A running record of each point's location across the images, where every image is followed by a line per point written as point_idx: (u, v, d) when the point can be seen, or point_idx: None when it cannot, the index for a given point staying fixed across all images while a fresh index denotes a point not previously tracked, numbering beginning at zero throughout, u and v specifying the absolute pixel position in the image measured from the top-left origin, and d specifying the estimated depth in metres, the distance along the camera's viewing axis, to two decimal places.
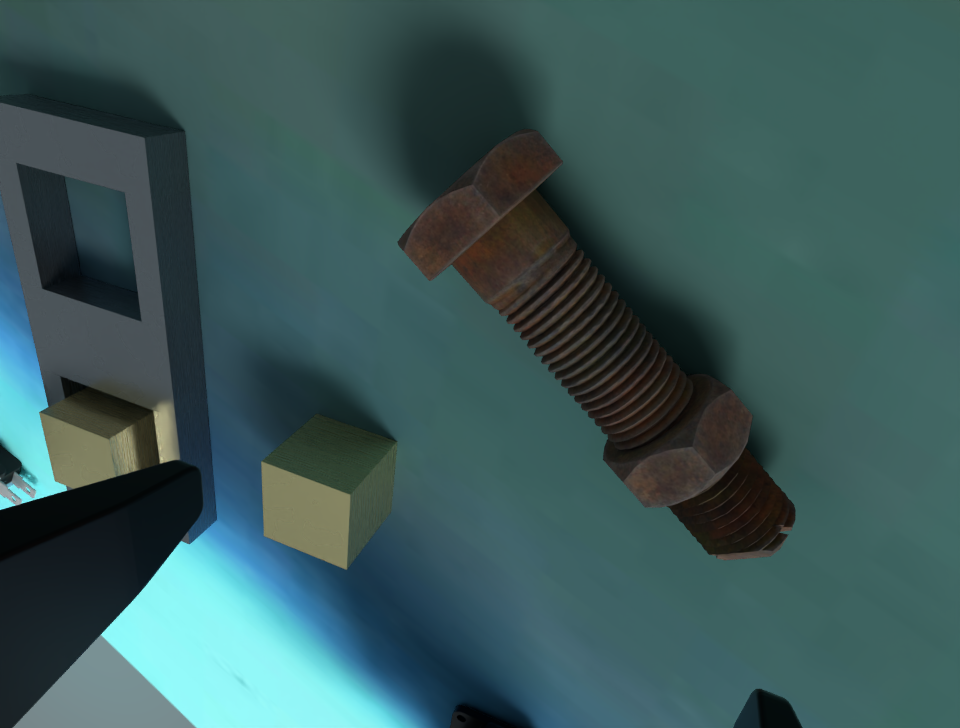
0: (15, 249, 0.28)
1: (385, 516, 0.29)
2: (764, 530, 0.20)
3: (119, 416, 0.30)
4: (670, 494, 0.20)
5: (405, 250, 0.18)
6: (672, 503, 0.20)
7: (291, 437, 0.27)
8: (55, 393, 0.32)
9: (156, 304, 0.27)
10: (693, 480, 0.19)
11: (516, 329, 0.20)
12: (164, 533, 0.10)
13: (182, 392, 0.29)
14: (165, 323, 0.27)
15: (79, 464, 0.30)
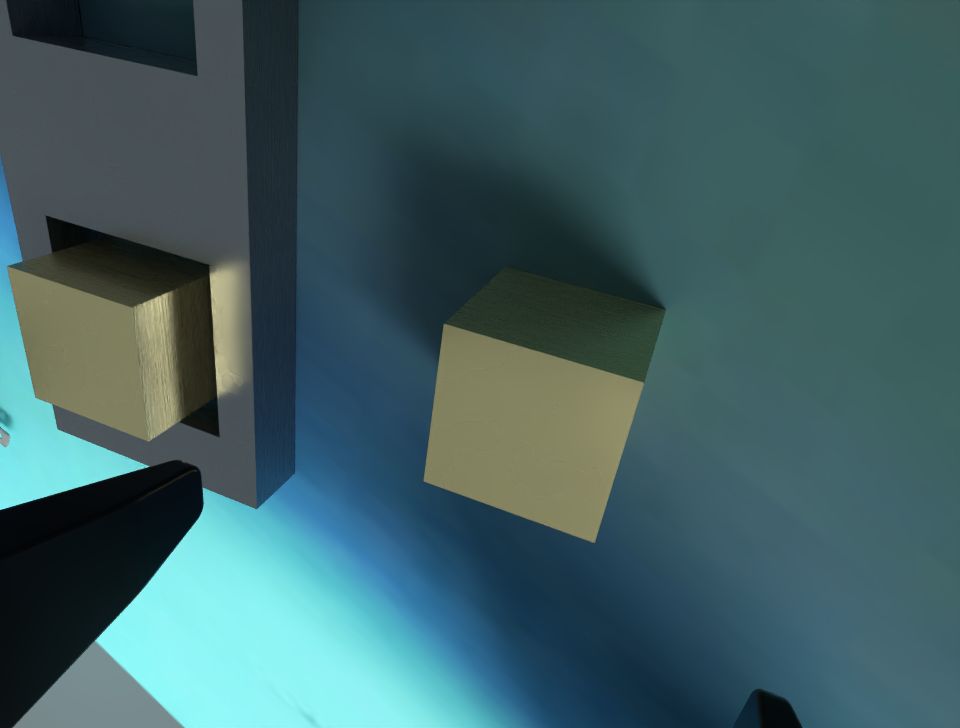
0: None
1: None
2: None
3: (148, 279, 0.17)
4: None
5: None
6: None
7: (480, 293, 0.14)
8: (37, 250, 0.19)
9: (229, 30, 0.14)
10: None
11: None
12: (164, 533, 0.10)
13: (263, 229, 0.16)
14: (244, 72, 0.14)
15: (77, 362, 0.17)
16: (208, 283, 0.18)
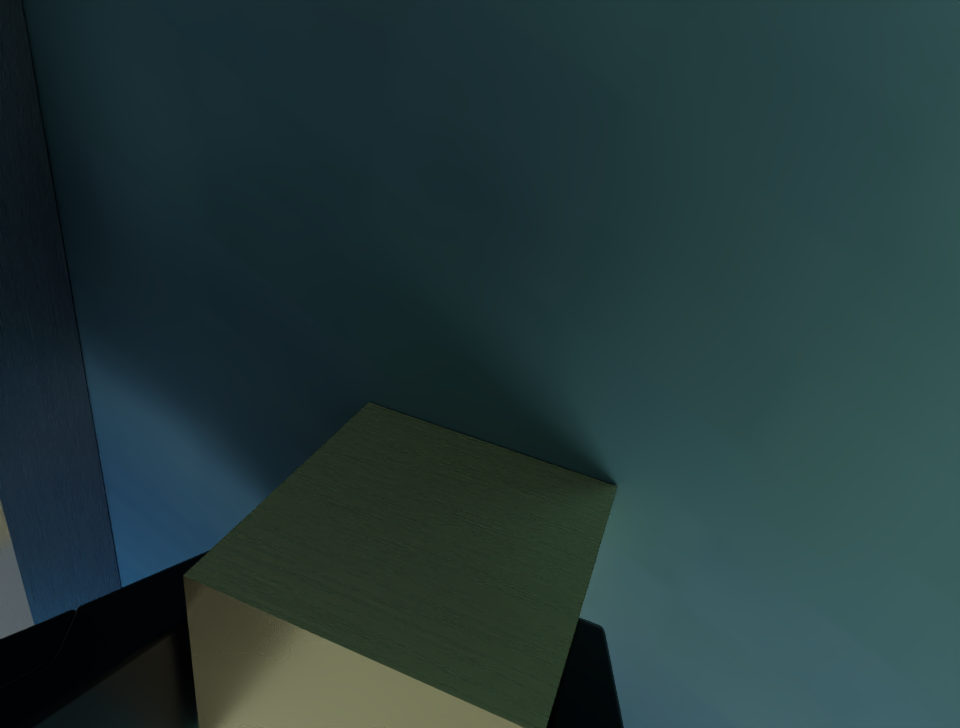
0: None
1: None
2: None
3: None
4: None
5: None
6: None
7: (294, 478, 0.08)
8: None
9: None
10: None
11: None
12: None
13: None
14: None
15: None
16: None
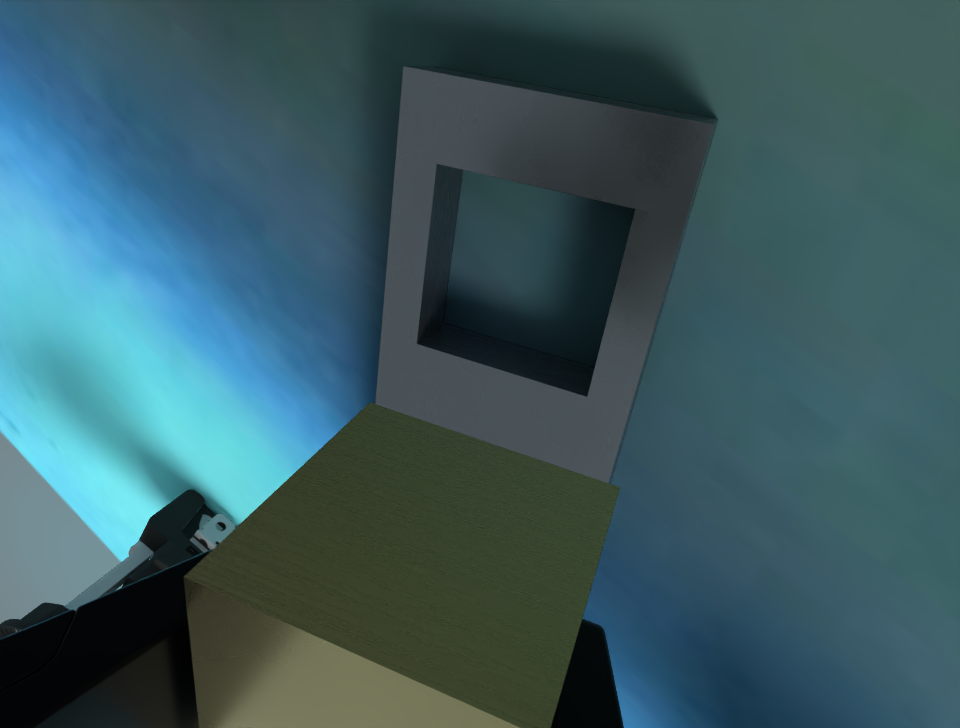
0: (388, 288, 0.20)
1: None
2: None
3: None
4: None
5: None
6: None
7: (296, 478, 0.08)
8: None
9: (627, 374, 0.18)
10: None
11: None
12: None
13: None
14: (632, 401, 0.18)
15: None
16: None
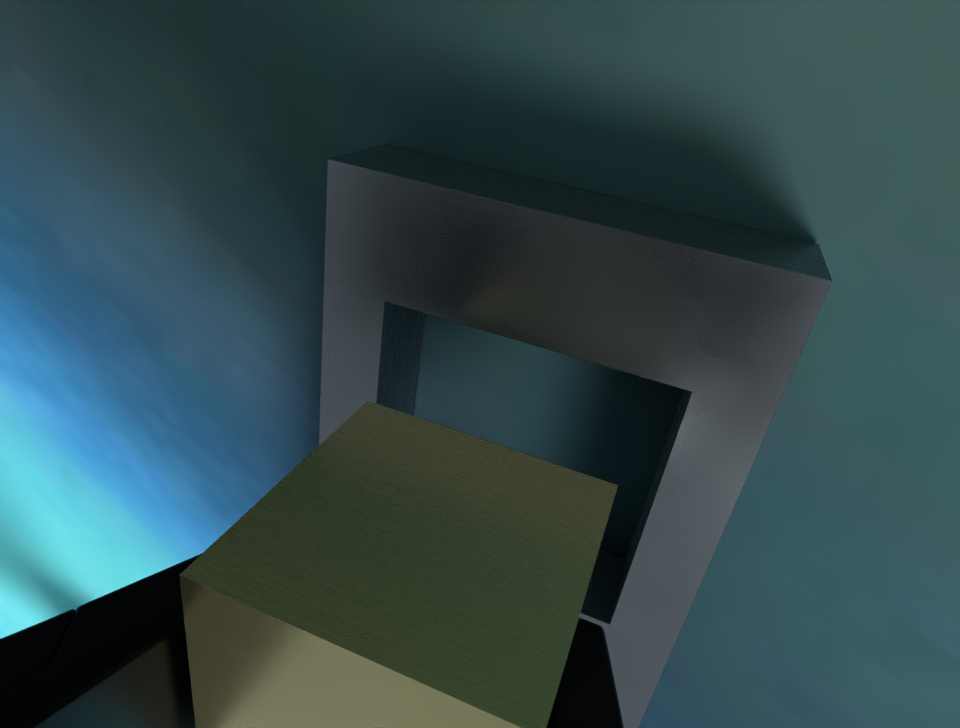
0: None
1: None
2: None
3: None
4: None
5: None
6: None
7: (292, 476, 0.08)
8: None
9: (671, 605, 0.12)
10: None
11: None
12: None
13: None
14: (676, 638, 0.13)
15: None
16: None
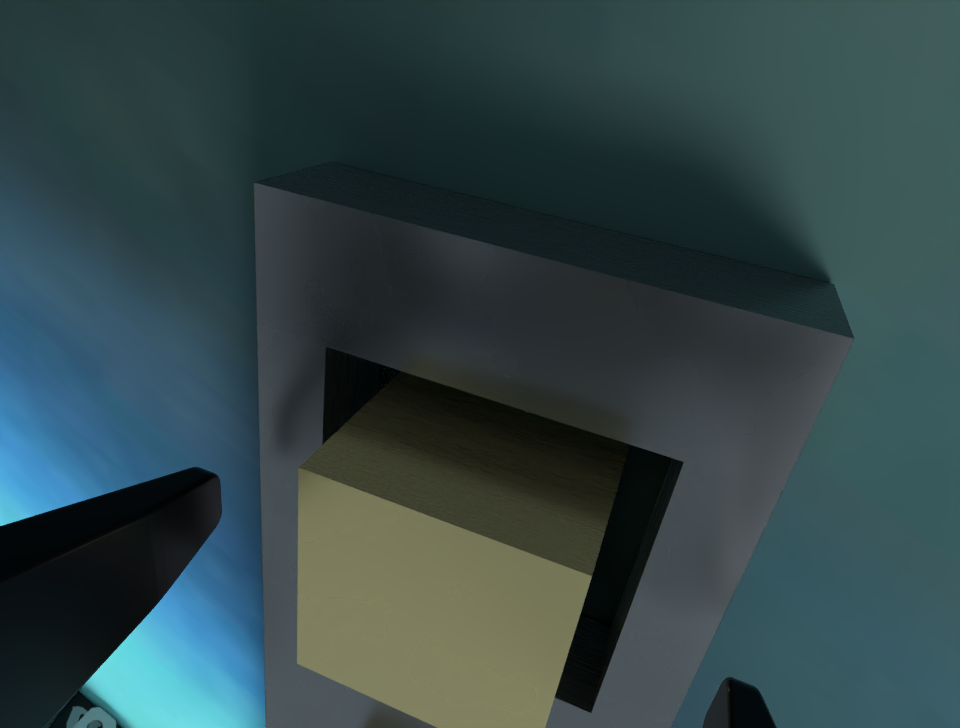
0: (266, 515, 0.12)
1: None
2: None
3: None
4: None
5: None
6: None
7: (373, 403, 0.10)
8: None
9: (660, 696, 0.11)
10: None
11: None
12: (183, 541, 0.10)
13: None
14: None
15: None
16: None
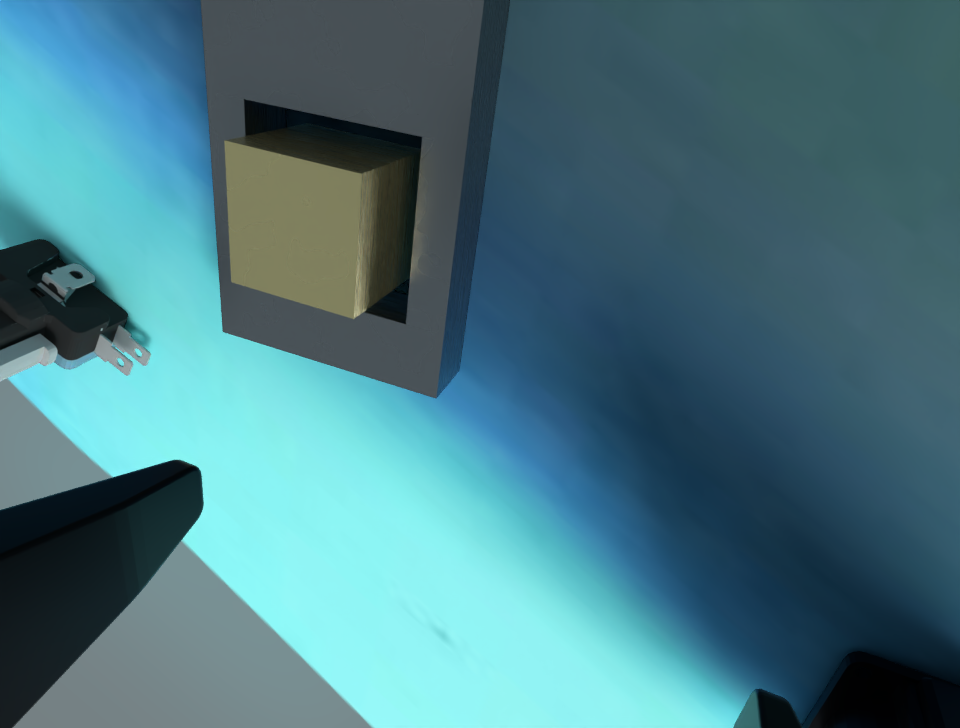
0: None
1: None
2: None
3: (357, 156, 0.17)
4: None
5: None
6: None
7: None
8: (229, 138, 0.19)
9: None
10: None
11: None
12: (164, 533, 0.10)
13: (479, 99, 0.17)
14: None
15: (286, 240, 0.18)
16: (406, 165, 0.18)
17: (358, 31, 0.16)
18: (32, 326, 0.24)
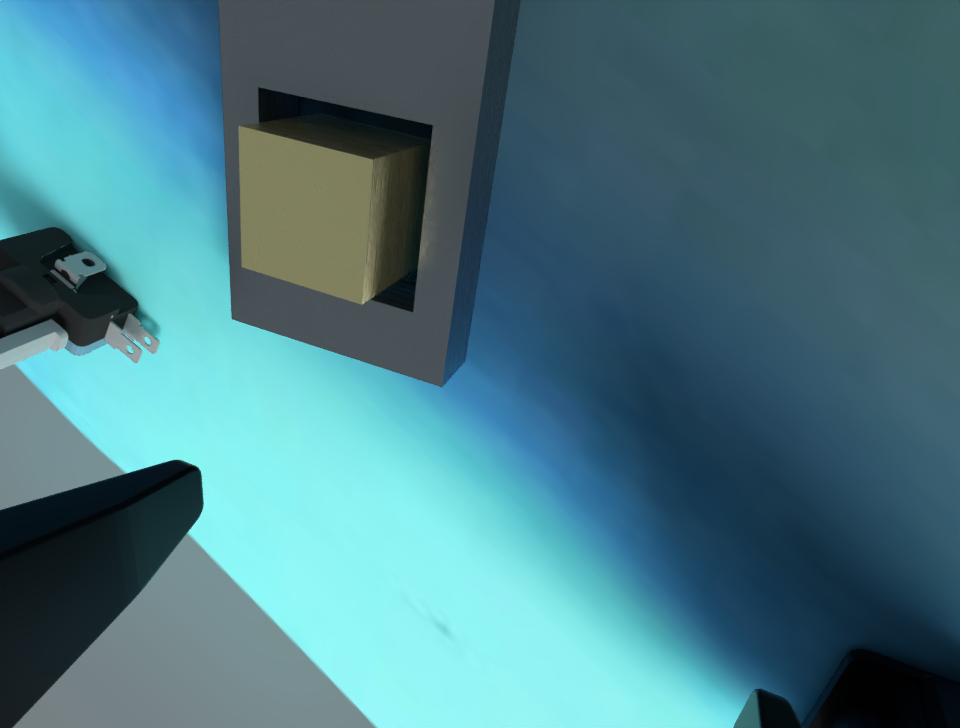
0: None
1: None
2: None
3: (368, 143, 0.18)
4: None
5: None
6: None
7: None
8: None
9: None
10: None
11: None
12: (164, 533, 0.10)
13: (489, 88, 0.17)
14: None
15: (297, 224, 0.18)
16: (416, 154, 0.19)
17: (372, 20, 0.17)
18: (44, 311, 0.24)
